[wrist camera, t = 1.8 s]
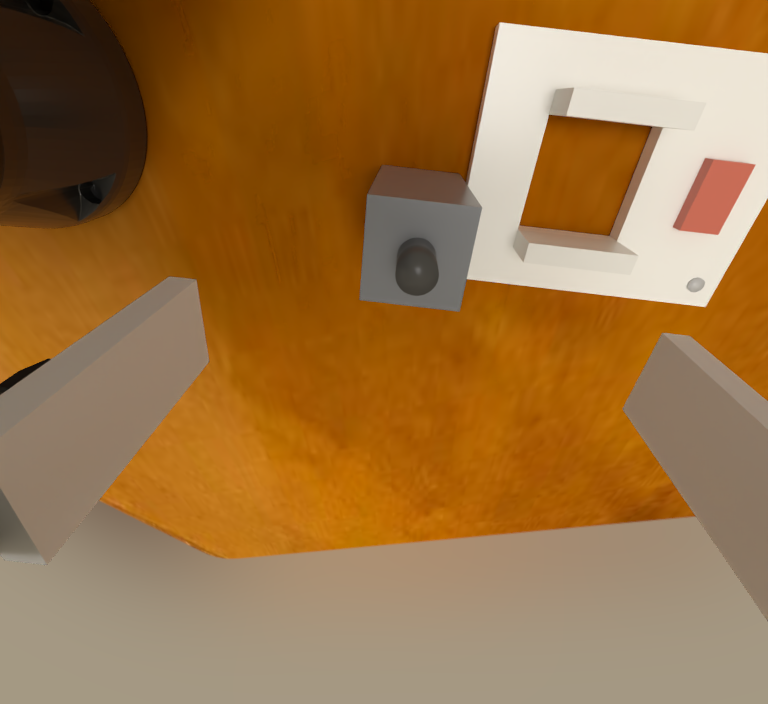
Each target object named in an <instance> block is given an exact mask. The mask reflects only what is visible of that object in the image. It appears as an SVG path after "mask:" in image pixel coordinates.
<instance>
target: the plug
mask: <svg viewBox="0 0 768 704" xmlns="http://www.w3.org/2000/svg"><path fill="white" fill-rule="evenodd" d="M481 211H482V206H481V205H480V203H479V202H478V200H477V199H476V197H475V196H474V194H473V193H472V192H471V190H470V189H469V187H468V186H467V184H466V183H465V181H464V180H463V178H462V177H461V175H460V174H458V173H449V172H441V171H432V170H423V169H415V168H406V167H398V166H389V165H382V166H381V168H380V170H379V172H378V174H377V176H376V178H375V180H374V182H373V184H372V186H371V188H370V190H369V192H368V194H367V203H366V217H365V231H364V245H363V259H362V272H361V286H360V300H364V301H373V302H381V303H390V304H399V305H407V306H416V307H424V308H433V309H442V310H450V311H459V312H460V307H461V302H462V298H463V293H464V289H465V284H466V280H467V275H468V270H469V266H470V261H471V257H472V252H473V248H474V243H475V239H476V234H477V229H478V225H479V220H480V216H481Z"/></svg>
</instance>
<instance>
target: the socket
mask: <svg viewBox="0 0 768 704" xmlns="http://www.w3.org/2000/svg"><path fill="white" fill-rule="evenodd" d="M549 115H557V116H565V117H574V118H583V119H591V120H600V121H608V122H617V123H625V124H634V125H643V126H651V127H652V129H651V131H650V134H649V137H648V139H647V142H646V144H645V147H644V149H643V152H642V154H641V157H640V159H639V162H638V164H637V167H636V170H635V172H634V175H633V177H632V180H631V182H630V185H629V187H628V190H627V192H626V195H625V197H624V200H623V203H622V205H621V208H620V210H619V213H618V215H617V218H616V220H615V223H614V225H613V228H612V230H611V233H610V236H606V235H597V234H588V233H580V232H571V231H563V230H554V229H546V228H537V227H528V226H520V225H519V224H520V220H521V216H522V212H523V209H524V205H525V201H526V198H527V194H528V190H529V187H530V183H531V179H532V176H533V172H534V168H535V165H536V161H537V157H538V154H539V150H540V146H541V143H542V139H543V135H544V132H545V128H546V124H547V120H548V117H549ZM466 184H467V186H468V187H469V189H470V190H471V192H472V193H473V194H474V196H475V197H476V199H477V200H478V202H479V203H480V205H481V206H482V211H481V216H480V220H479V225H478V229H477V234H476V239H475V243H474V248H473V252H472V257H471V261H470V266H469V270H468V275H467V279H471V280H480V281H488V282H497V283H505V284H514V285H523V286H531V287H540V288H548V289H557V290H565V291H574V292H583V293H591V294H600V295H608V296H617V297H625V298H634V299H642V300H651V301H660V302H668V303H677V304H685V305H694V306H702V307H706V305H707V303H708V301H709V300H710V298H711V296H712V294H713V293H714V291H715V289H716V287H717V286H718V284H719V282H720V280H721V279H722V277H723V275H724V273H725V272H726V270H727V268H728V266H729V265H730V263H731V261H732V259H733V258H734V256H735V254H736V252H737V251H738V249H739V247H740V245H741V244H742V242H743V240H744V238H745V237H746V235H747V233H748V231H749V230H750V228H751V226H752V225H753V223H754V221H755V219H756V218H757V216H758V214H759V212H760V211H761V209H762V207H763V205H764V204H765V202H766V200H767V198H768V54H767V53H758V52H749V51H741V50H732V49H724V48H715V47H706V46H698V45H689V44H681V43H672V42H664V41H655V40H646V39H638V38H629V37H621V36H612V35H603V34H595V33H586V32H578V31H569V30H560V29H552V28H543V27H535V26H526V25H517V24H509V23H499V24H498V25H497V26H496V29H495V34H494V39H493V44H492V49H491V55H490V60H489V65H488V70H487V75H486V81H485V86H484V91H483V96H482V101H481V106H480V112H479V117H478V122H477V127H476V132H475V138H474V143H473V148H472V153H471V158H470V164H469V169H468V174H467V179H466Z"/></svg>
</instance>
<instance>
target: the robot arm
mask: <svg viewBox="0 0 768 704" xmlns="http://www.w3.org/2000/svg"><path fill="white" fill-rule="evenodd" d="M146 144H147V133H146V121H145V114H144V109H143V104H142V99H141V96H140V92H139V89H138V86H137V83H136V80H135V77H134V75H133V72H132V70H131V67H130V65H129V63H128V60H127V58H126V56H125V54H124V52H123V50H122V48H121V46H120V44H119V43H118V41H117V39H116V38H115V36H114V34H113V32H112V31H111V29H110V28H109V26H108V25H107V23H106V22H105V20H104V19H103V18H102V16H101V15H100V13H99V12H98V11H97V9H96V8H95V7H94V6H93V4H92V3H91V2H90V1H89V0H0V226H15V227H31V228H64V227H70V226H75V225H79V224H82V223H85V222H88V221H90V220H93V219H96V218H99V217H101V216H104V215H106V214H108V213H110V212H112V211H113V210H115V209H117V208H118V207H119V206H120V205H122V204H123V203H124V202H125V201H126V200H127V198H128V197H129V196H130V195H131V193H132V192H133V190H134V189H135V187H136V185H137V183H138V181H139V178H140V176H141V173H142V170H143V166H144V162H145V156H146ZM208 362H209V356H208V350H207V344H206V337H205V331H204V325H203V319H202V312H201V306H200V300H199V293H198V287H197V281H196V279H187V278H178V277H170V276H169V277H168V278H166V279H165V280H163V281H162V282H161V283H159V284H158V285H156V286H155V287H154V288H152V289H151V290H149V291H148V292H146V293H145V294H144V295H142V296H141V297H139V298H138V299H136V300H135V301H134V302H132V303H131V304H129V305H128V306H126V307H125V308H124V309H122V310H121V311H119V312H118V313H116V314H115V315H114V316H112V317H111V318H109V319H108V320H107V321H105V322H104V323H102V324H101V325H99V326H98V327H97V328H95V329H94V330H92V331H91V332H89V333H88V334H87V335H85V336H84V337H82V338H81V339H79V340H78V341H77V342H75V343H74V344H72V345H71V346H69V347H68V348H67V349H65V350H64V351H62V352H61V353H60V354H58V355H57V356H55V357H54V358H52V359H46V360H44V361H42V362H39V363H37V364H35V365H32V366H30V367H27V368H25V369H23V370H20V371H18V372H17V373H16V374H14V375H13V376H11V377H10V378H8V379H7V380H5V381H4V382H2V383H1V384H0V555H1V557H2V558H3V559H4V560H7V561H16V562H25V563H33V564H42V565H48V563H49V562H50V561H51V560H52V558H53V557H54V556H55V554H56V553H57V552H58V551H59V549H60V548H61V547H62V546H63V545H64V543H65V542H66V540H67V539H68V538H69V537H70V536H71V534H72V533H73V532H74V531H75V529H76V528H77V527H78V526H79V524H80V523H81V522H82V521H83V519H84V518H85V516H87V514H88V513H89V512H90V511H91V509H92V508H93V507H94V506H95V504H96V503H97V502H98V501H99V499H100V498H101V497H102V496H103V494H104V493H105V492H106V491H107V489H108V488H109V487H110V486H111V484H112V483H113V482H114V480H115V479H116V478H117V477H118V475H119V474H120V473H121V472H122V470H123V469H124V468H125V467H126V465H127V464H128V463H129V462H130V460H131V459H132V458H133V457H134V455H135V454H136V453H137V452H138V450H139V449H140V448H141V447H142V445H143V444H144V443H145V442H146V440H147V439H148V438H149V437H150V435H151V434H152V433H153V432H154V430H155V429H156V428H157V427H158V425H159V424H160V423H161V421H162V420H163V419H164V418H165V416H166V415H167V414H168V413H169V411H170V410H171V409H172V408H173V406H174V405H175V404H176V403H177V401H178V400H179V399H180V398H181V396H182V395H183V394H184V393H185V391H186V390H187V389H188V388H189V386H190V385H191V384H192V383H193V381H194V380H195V379H196V378H197V376H198V375H199V374H200V373H201V371H202V370H203V369H204V368H205V366H206V365H207V364H208ZM623 411H624V412H625V414H626V415H627V417H628V418H629V419H630V421H631V422H632V424H633V425H634V427H635V428H636V430H637V431H638V433H639V434H640V435H641V437H642V438H643V440H644V441H645V443H646V444H647V446H648V447H649V449H650V450H651V452H652V453H653V454H654V456H655V457H656V459H657V460H658V462H659V463H660V465H661V466H662V468H663V469H664V471H665V472H666V473H667V475H668V476H669V478H670V479H671V481H672V482H673V484H674V485H675V487H676V488H677V489H678V491H679V492H680V494H681V495H682V497H683V498H684V500H685V501H686V503H687V504H688V506H689V507H690V508H691V510H692V511H693V513H694V514H695V516H696V517H697V519H698V520H699V522H700V523H701V525H702V526H703V527H704V529H705V530H706V532H707V533H708V535H709V536H710V537H711V539H712V541H713V542H714V543H715V545H716V546H717V548H718V549H719V551H720V552H721V553H722V555H723V557H724V558H725V559H726V561H727V562H728V564H729V565H730V567H731V568H732V570H733V571H734V573H735V574H736V576H737V577H738V578H739V580H740V581H741V583H742V584H743V586H744V587H745V588H746V590H747V592H748V593H749V594H750V596H751V597H752V599H753V600H754V602H755V603H756V605H757V606H758V608H759V609H760V611H761V612H762V614H763V615H764V616H765V618H766V619H767V621H768V401H767V400H765V399H764V398H763V397H762V396H761V395H759V394H758V393H757V392H756V391H755V390H753V389H752V388H751V387H750V386H749V385H748V384H746V383H745V382H744V381H743V380H742V379H740V378H739V377H738V376H737V375H736V374H734V373H733V372H732V371H731V370H730V369H728V368H727V367H726V366H725V365H724V364H722V363H721V362H720V361H719V360H718V359H717V358H715V357H714V356H713V355H712V354H711V353H709V352H708V351H707V350H706V349H705V348H703V347H702V346H701V345H700V344H699V343H697V342H696V341H695V340H694V339H693V338H691V337H690V336H685V335H676V334H668V333H662V335H661V337H660V338H659V340H658V342H657V344H656V346H655V348H654V350H653V352H652V354H651V356H650V357H649V359H648V361H647V363H646V365H645V367H644V369H643V371H642V373H641V375H640V376H639V378H638V380H637V382H636V384H635V386H634V388H633V390H632V392H631V394H630V395H629V397H628V399H627V401H626V403H625V405H624V407H623Z"/></svg>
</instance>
